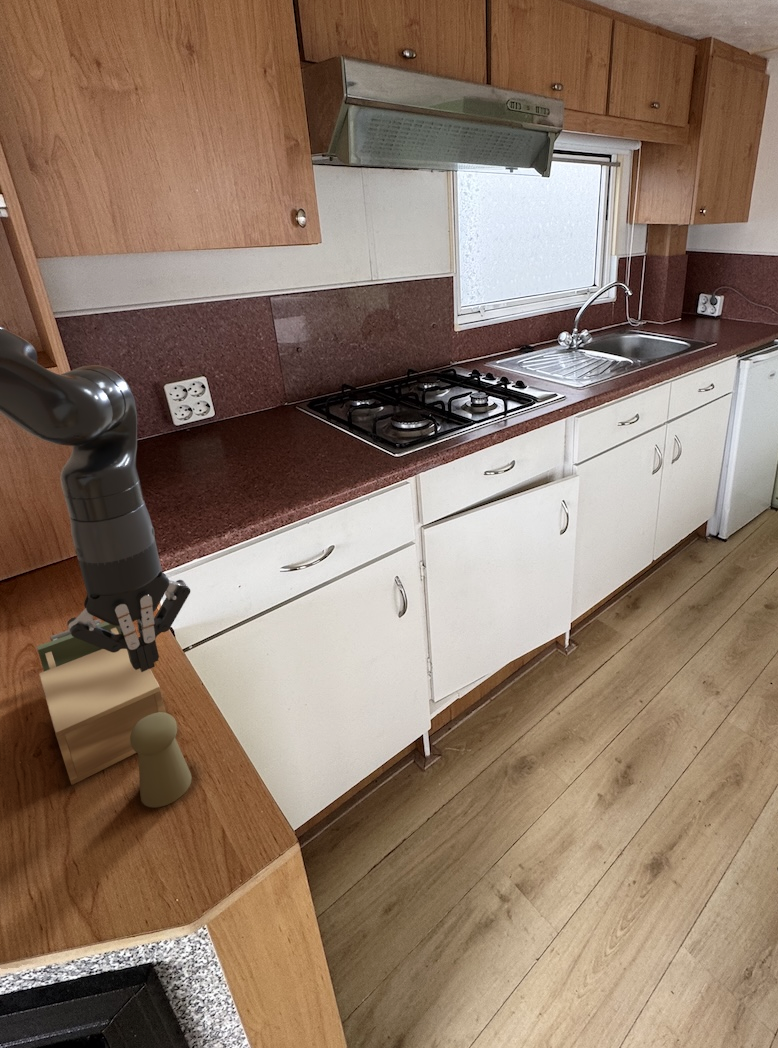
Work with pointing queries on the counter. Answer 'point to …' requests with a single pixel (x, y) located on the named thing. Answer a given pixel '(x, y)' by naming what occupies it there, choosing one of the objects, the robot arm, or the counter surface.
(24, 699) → the counter surface
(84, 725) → the cabinet
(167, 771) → the cork
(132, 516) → the robot arm
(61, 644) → the drawer
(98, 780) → the counter surface
